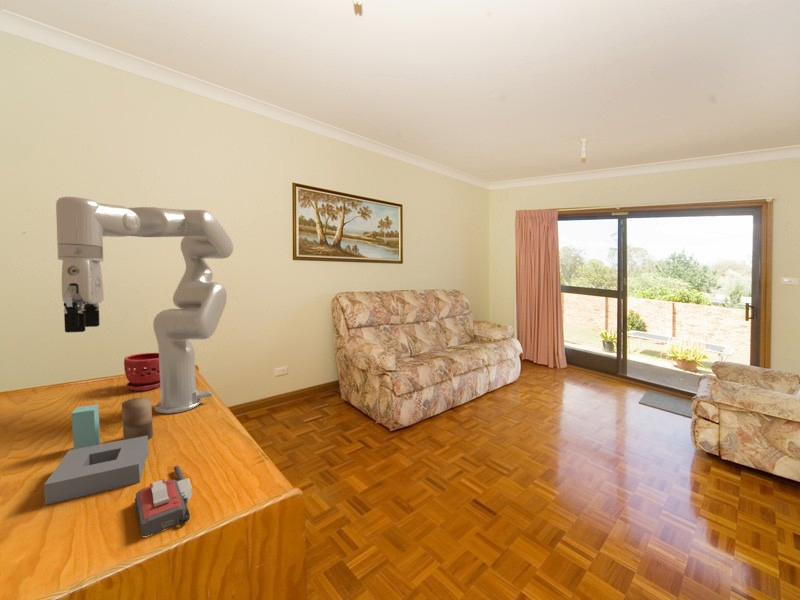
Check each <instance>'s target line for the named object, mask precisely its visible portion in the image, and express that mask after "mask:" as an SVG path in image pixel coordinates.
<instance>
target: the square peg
mask: <svg viewBox="0 0 800 600" xmlns="http://www.w3.org/2000/svg"><path fill="white" fill-rule="evenodd" d="M70 415H71V425H72V426H71V428H72V443H73V449H78V448H83V447H89V446H94V445H99V444H101V431H100V416H99V415H100V413H99V404H92V405H91V404H90V405H85V406H77V407H75V409H74V410H73V411H72V412H71V414H70Z"/></svg>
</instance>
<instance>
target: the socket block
mask: <svg viewBox="0 0 800 600" xmlns="http://www.w3.org/2000/svg"><path fill="white" fill-rule="evenodd" d="M148 455H149V440H148V435H147V436H142V437H137V438H131V439H126V440H124V439H121V440H116V441H110V442H106V443H100V444H99V445H94V446H89V447H83V448H78V449H74V448H73V449H69V450H68V451H67V452H66V454H65V455H64V457H62V459H61V461H60V462H59V464H58V465H57V466H56V468H55V469H54V470H53V472H52V473H51V474H50V476H49V477H48V479H47V480H46V481H45V483H44V484H43V489H44V490H43V491H44V501H45V502H44V503H45V506H47V505H53V504H57V503H61V502H64V501H69V500H73V499H77V498H80V497H81V498H82V497H85V496H91V495H93V494H97V493H102V492H106V491H110V490H114V489H117V488H123V487H127V486H131V485H134V484H138V483H140V482H141V479H142V476H143V472H144V468H145V465H146V461H147V458H148Z"/></svg>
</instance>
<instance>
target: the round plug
mask: <svg viewBox="0 0 800 600" xmlns="http://www.w3.org/2000/svg"><path fill="white" fill-rule="evenodd" d="M152 408H153V407H152V398H151V397H148V396H140V397H134V398H130V399H126V400H124V401H123V402H122V403H121V409H122V410H121V411H122V412H121V413H122V414H121V415H122V430H123V433H122V435H123V440H126V439H131V438H137V437H142V436H147V435H148V441H149V440H151V439H152V438H153V436H154V434H153V433H154V432H153V431H154V430H153V429H154V428H153V415H152V414H153V412H152V411H153V409H152Z"/></svg>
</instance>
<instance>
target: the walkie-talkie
mask: <svg viewBox="0 0 800 600" xmlns="http://www.w3.org/2000/svg"><path fill="white" fill-rule="evenodd" d="M173 470H174V473H175V476H176V478H177V480H176V479H167V480H165V479H164V478H163V479H160V480H157V481H153V482H150V484H149V486H147V487H144V488H141V489H140V490H138V491H137V492H136V493H135V498H134V505H135V512H137V517H138V518H137V519H138V524H139V525H140V526H139V531H141V532H140V537H141V536H148V535H151V534H154V533H157V532H159V533H161V532H163V531H162V530H164V529H166V530H168V529H167V528H169V529H171V528H173V527H172V526H174V527H176V526H178V524H179V525H181V524H183V523H188V521H189V520H190V519H191V518H190V517H191V515H190V511H189V508H188V506H187V503H189V501H190V499H191V498H192V497H193V487H192V483H191V479H190V478H189V477H187V478H185V477H184V475H183V472H182V470H181V467H180V465H179V464H177V465H175V466H174V467H173ZM170 527H171V528H170ZM160 531H161V532H160ZM164 531H165V530H164ZM157 534H158V533H157ZM154 535H155V534H154Z"/></svg>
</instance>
